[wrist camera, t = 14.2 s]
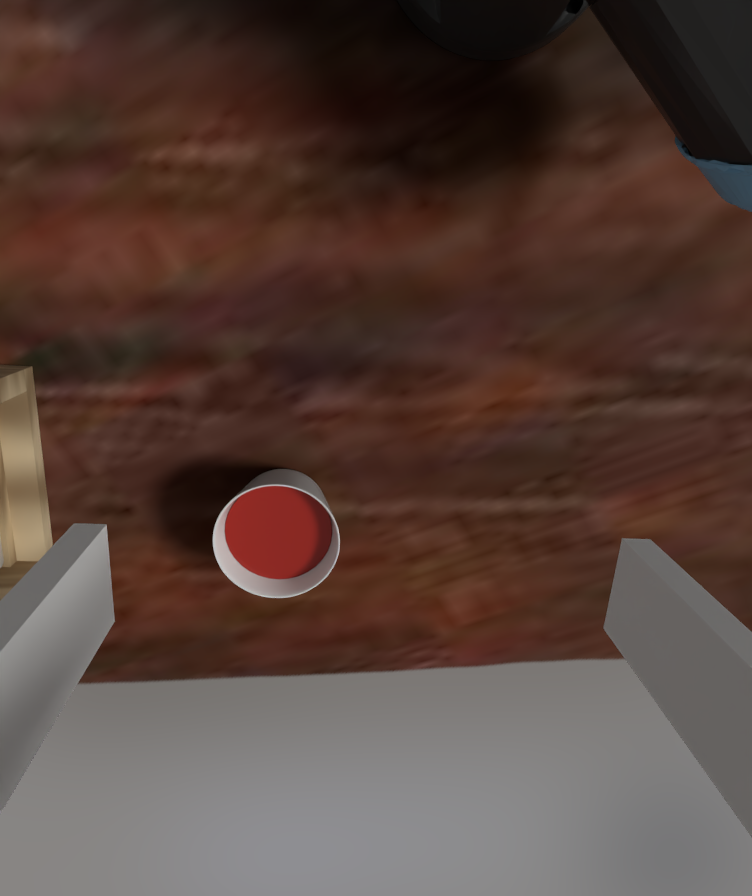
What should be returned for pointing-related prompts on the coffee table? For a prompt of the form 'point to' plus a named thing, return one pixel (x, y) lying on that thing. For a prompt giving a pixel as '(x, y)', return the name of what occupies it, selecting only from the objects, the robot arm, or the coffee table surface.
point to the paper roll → (1, 554)
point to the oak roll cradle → (21, 478)
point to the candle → (277, 535)
